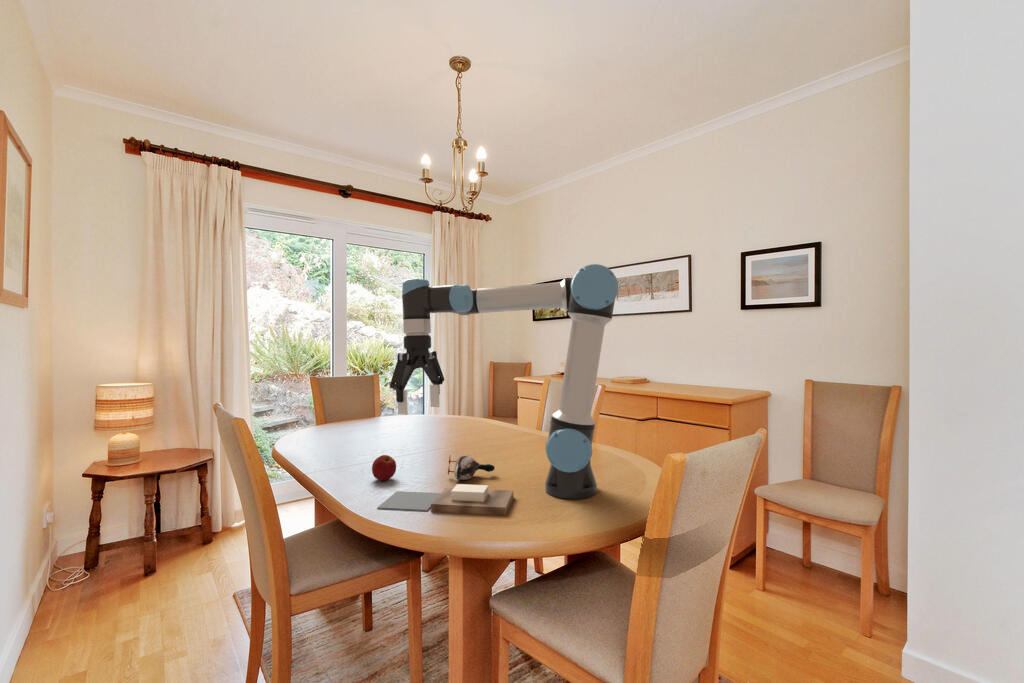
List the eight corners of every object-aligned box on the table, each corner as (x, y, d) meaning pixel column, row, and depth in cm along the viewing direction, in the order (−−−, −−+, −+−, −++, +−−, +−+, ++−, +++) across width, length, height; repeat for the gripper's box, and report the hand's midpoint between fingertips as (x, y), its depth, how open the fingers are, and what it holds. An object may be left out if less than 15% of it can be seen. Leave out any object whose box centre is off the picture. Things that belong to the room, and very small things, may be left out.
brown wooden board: (513, 497, 130) (513, 490, 130) (505, 515, 117) (505, 507, 117) (445, 494, 133) (445, 487, 133) (430, 511, 120) (430, 504, 120)
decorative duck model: (495, 454, 154) (494, 464, 139) (493, 476, 154) (492, 489, 139) (451, 450, 154) (445, 460, 139) (449, 473, 154) (443, 485, 139)
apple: (371, 485, 143) (371, 459, 143) (372, 477, 151) (372, 453, 151) (396, 482, 145) (396, 457, 145) (396, 475, 153) (395, 451, 153)
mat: (442, 494, 133) (442, 493, 133) (427, 511, 121) (427, 509, 121) (396, 492, 136) (396, 491, 136) (377, 508, 123) (377, 507, 123)
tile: (488, 493, 128) (488, 485, 128) (483, 501, 122) (483, 492, 122) (457, 492, 129) (457, 484, 129) (451, 500, 123) (451, 491, 123)
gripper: (434, 334, 141) (437, 403, 141) (374, 335, 119) (376, 416, 119) (454, 334, 137) (456, 404, 137) (395, 334, 116) (398, 418, 116)
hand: (419, 410), depth 128 cm, fingers open, 13 cm apart
